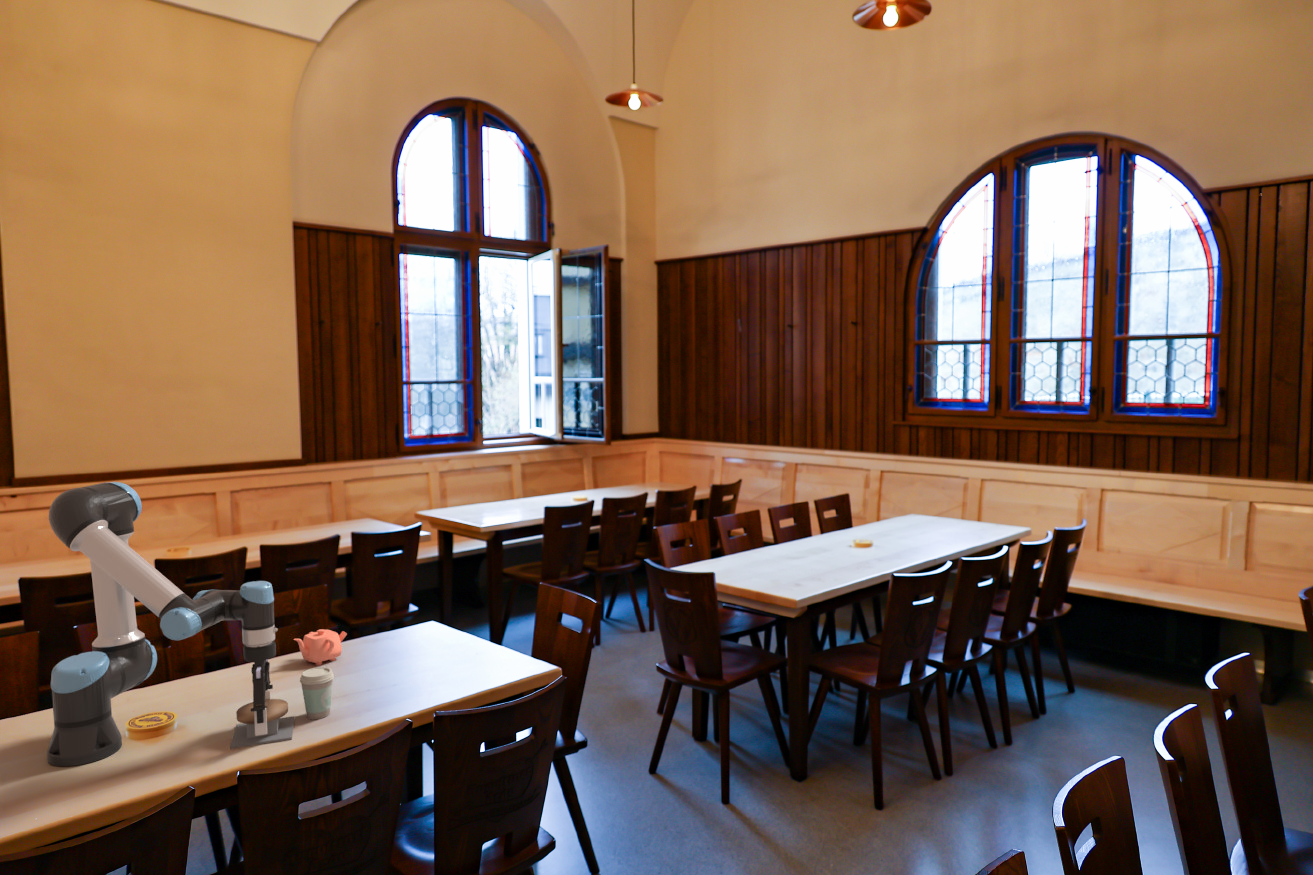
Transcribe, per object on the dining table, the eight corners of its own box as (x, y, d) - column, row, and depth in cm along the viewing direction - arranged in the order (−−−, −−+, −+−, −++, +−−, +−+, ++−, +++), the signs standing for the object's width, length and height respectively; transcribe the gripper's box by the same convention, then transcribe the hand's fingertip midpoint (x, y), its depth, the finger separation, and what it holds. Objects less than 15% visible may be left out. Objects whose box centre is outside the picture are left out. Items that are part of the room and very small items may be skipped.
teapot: (313, 653, 277) (312, 623, 276) (348, 652, 276) (347, 622, 276) (294, 668, 262) (292, 637, 261) (331, 668, 262) (330, 636, 261)
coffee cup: (323, 722, 221) (321, 678, 220) (294, 720, 223) (292, 676, 222) (341, 709, 230) (340, 667, 229) (313, 707, 231) (312, 665, 230)
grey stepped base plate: (230, 748, 206) (229, 729, 206) (236, 726, 219) (235, 707, 219) (291, 739, 211) (290, 720, 211) (294, 718, 224) (293, 700, 224)
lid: (234, 726, 207) (233, 716, 207) (239, 708, 218) (238, 698, 218) (286, 719, 211) (286, 708, 211) (289, 702, 222) (288, 691, 222)
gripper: (272, 655, 203) (276, 741, 205) (278, 627, 226) (282, 704, 228) (237, 659, 201) (242, 746, 202) (247, 630, 223) (251, 709, 225)
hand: (263, 724), depth 215 cm, fingers closed on lid, 12 cm apart
